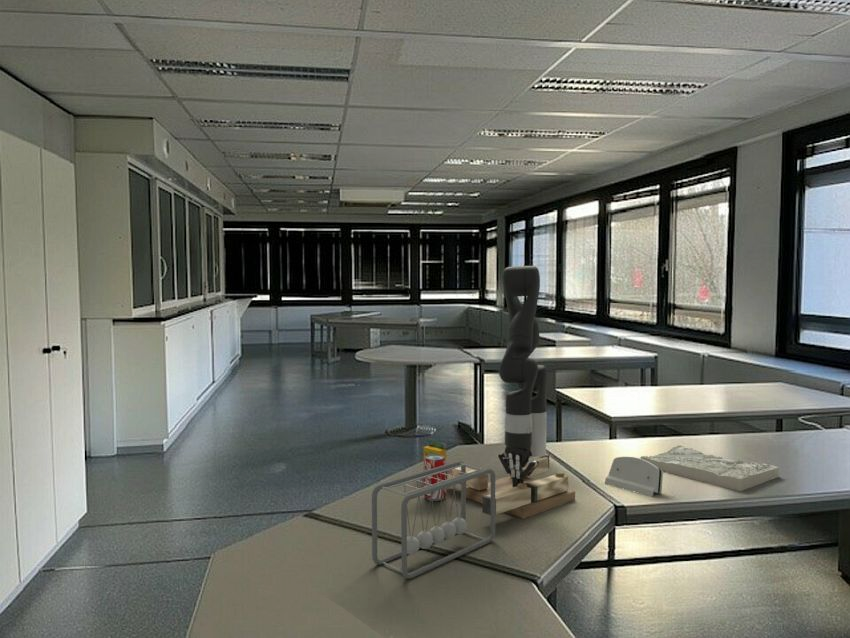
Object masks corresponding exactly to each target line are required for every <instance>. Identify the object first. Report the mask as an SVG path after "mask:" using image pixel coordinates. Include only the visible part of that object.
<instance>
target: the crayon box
mask: <svg viewBox="0 0 850 638" xmlns="http://www.w3.org/2000/svg"><path fill="white" fill-rule="evenodd" d="M428 444H429V445H426V446H423V462H424V461H425V459H426V456H428V455H442V456H444V458H445V461H446V462H447V443H445V442H441V441H438V440H431V439H429V443H428ZM437 444H438V445H437Z"/></svg>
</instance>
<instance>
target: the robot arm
mask: <svg viewBox="0 0 850 638" xmlns="http://www.w3.org/2000/svg"><path fill="white" fill-rule="evenodd" d="M502 286H503V287H502V288H503V292H504V297H505V300H506V306H507V311H508V320H509V321H508V322H509V326H508V331H507V332H508V333H507V345H506V349H505V353H504V355H503V357H502V360H501V362H500V365H499V368H498V374H499V377H500V379H501V380H502V382H504V383H506V384H516V388H517V390H514V391H513V390H512V391H509V392H507V393H506V396H505V418H504V445H505V448H504V452H503V453H500V454H498V459H499V461H500V463H501V464H502V467H503V469H504V470H505V472H506V474H507V475H510V474H511V476H512V482H513V483H512V486H513V487H516V486H518V484H520V483H524V478H525V477H527V476H528V477H531V476H532V475H531V473H532V472H533V471H534V469H535V468H536V467H537V466H538V464H539V462H538V461H537V460H536V461H535V460H534V459H533V457H536V456H545V455H547V394H548V393H547V391H548V376H549V374H548V369H547V366H545V365H544V364H541V365H540V364H538V363H537V361H536V360H535V359H533V358H532V357H530V356H531V355H532V354H533V352H534V351H535V350H536V348H537V347H538V345H539V342H540V338H541V337H540V327H539V322H538V321H537V319H536V313H537V307H538V301H539V295H540V287H541V276H540V270H539V268H538V267H537V266H536V265H518V266H517V265H516V266H515V265H513V266H507V267H505V268H504V269H503V273H502ZM519 297H526V300H525V301H524V303H522V302H521V301H520V299H519ZM533 392H536V395H535V396H534V397H533V396H532V395H533ZM528 461H529V462H528ZM527 463H528V467H527ZM530 475H531V476H530Z"/></svg>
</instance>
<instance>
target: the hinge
mask: <svg viewBox="0 0 850 638" xmlns="http://www.w3.org/2000/svg"><path fill="white" fill-rule="evenodd" d="M663 477H664V471H662V469H661V468H659V467H658V466H656V465H655V464H653V463H651V462H649V461H646V460H643V459H641V457H635V456H619V457H614V458H613V461H612V463H611V465H610V469H609V472H608V474H607V475H606V476H605V480H604V484H605V483H606V484H605V485H608V484H609V486H612V485H613V486H612V487H615V486H616V488H619V487H620V488H619V489H622V488H624V489H623V490H626V489H627V490H626V491H629V490H631V491H630V492H633V491H635V492H634V493H636V492H638V494H640V493H641V494H640V495H643V494H644V496H648V497H650V498H652V497H654V493H656V494H662V489H663Z"/></svg>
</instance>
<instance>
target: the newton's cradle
mask: <svg viewBox="0 0 850 638" xmlns="http://www.w3.org/2000/svg"><path fill="white" fill-rule="evenodd" d="M458 467H461V475H460V476H457V477H454V476H453V475H452V478H451V479H448V480H445V481H443V480H442V479H441V482H439V483H435V484H430V479H429V483H427V484H430V485H429V486H426V487H424V486H423V487H420V488H419V483H418V482H421V483H425V482H424V481H422V479H424V478H426V477H430V476H432V475H435V474H439V473H440V476H441V473H442V472H445V471H448V470H451V472H452V469H455V468H458ZM466 467H467V468H470V469H474V470H476V471H473V472H470V473H466ZM454 471H456V470H454ZM458 472H459V471H458ZM475 472H476V473H475ZM472 473H473V474H472ZM442 474H443V473H442ZM469 474H470V475H469ZM486 474H488V475H490V481H491V515H490V533H489V535H488V537H487V538H486V537H485V538H484V537H482V536H479V535H476V534H473V533H471V532H468V531H467V528H468V523H467V520H466V517H467V515H466V514H467V510H466V509H467V505H466V504H467V503H466V502H467V501H466V500H467V498H466V488H467V486H466V481H468V480H471V479H474V478H477V477H480V476H483V475H486ZM445 475H447V474H445ZM449 476H450V475H449ZM453 477H454V478H453ZM432 478H433V477H432ZM435 479H436V478H435ZM438 480H440V479H438ZM495 480H496V472H495V470H494V469H492V468H486V469H485V468H481V467H477V466H474V465H470V464H466V463H464V462H463V461H461V460H457V461H455V462H450V463H448V464H447V463H446V465H443V466H440V467H436V468H433V469H429V470H426V471H424V470H423V471H420V472H415V473H413V474H410V475H407V476H403V477H399V478H396V479H393V480H390V481H385V482H382V483H380V484H377V485H376V486H375V487H374V489H373V490H372V492H371V493H372V494H371V557H372V561H373V563H374V564H375V565H378V566H381V565H385V566H387V567H389V568H391V569H394V570H396V571H398V572H400V573H401V574H402V576H403V577H404V578H405V579H406V580H407V579H408V580H409V579H413V578H416V577H417V576H420V575H422V574H424V573H427V572H428V571H430V570H432V569H435V568H437V567H440V566H443V565H444V564H445V563H448V562H450V561H453V560H454V559H456V558H459V557H462V556H464V555H466V554H468V553H470V552H472V551H475V550H477V549H479V548H481V547H483V546H486V545H488V544H490V543H491V542H492V541H493V540H494V538H495V536H496V516H495ZM412 482H416V485H417V486H416V487H415V486H414V485H413V486H412V485H409V483H412ZM459 483H461V484H459ZM438 484H439V485H438ZM458 484H459V485H460V489H461V490H460V508H461V509H460V515H459V513H458V510H456V514H457V515H456V516H457V517H455V518H454V519H453V520H452V521H451V515H452V510H453V502H454V499H455V506H456V509H458V504H457V498H456V497H457V496H456V491H455V488H456V485H458ZM402 485H403V487H404V489H406V486H409V487H413V488H415V489H414V490H410V491H406V490H404V492H400V491H398V490H394V489H393V488H396V487H399V486H402ZM435 485H436V486H435ZM452 486H453V493H452V497H454V498H452V499H451V507H450V511H449V512H450V513H449V519H448V517H447V510H446V503H445V501H446V500H443V499H441V500H440V506H439V514H438V520H437V525H436V517H435V511H434V510H435V509H434V508H432V512H433V520H434V526H433V527H431V528H430V529H429V531H427V530H428V529H427V528H428V523H429V522H428V521H429V517H426V518H427V520H426V527H424V520H423V513H422V512H423V511H422V508H421V507H422V506H421V499H420V497H422V496H424V495H426V494H429V493H431V496H430V500H429V506H428V512H427V516H429V515H430V507H431V505H432V507H434V501H431V499H432V492H435V491H438V490H441V489H442V491H443V490H444V488H446V489H447V488H449V487H452ZM429 487H430V488H429ZM383 489H384V490H386V491H390V492H393V493H394V494H395V493H396V494H399V495H401V496H404V498H403V500H402V502H401V508H400V509H401V511H400V512H401V517H400V518H401V521H400V522H401V525H400V526H401V527H400V529H401V531H400V532H401V534H400V535H401V539H400V540H401V550H400V551H397V552H395V553H392V554H389V555H387V556H385V557H382V558H378V493H379V492H380V490H383ZM442 497H443V498H444V499H445V497H444V493H443V492H442ZM416 498H417V503H416V508H415V509H416V510H415V515H414V516H415V517H414V522H413V528H412V534H411V530H410V529H411V527H408V526H410V519H409V510H408V505H409V504H408V503H409V502H410V501H411V500H413V499H416ZM442 502H443V503H444V504H443V503H442ZM442 504H443V505H444V512H445V519H446V522H443V523H442V524H441V526H439V522H440V517H441V511H442V510H441V509H442ZM418 506H419V508H420V516H421V523H422V531H420V532H419V533H418V534H417V536H416V537H415V536H414V531H415V526H416V525H415V524H416V519H417V511H418ZM424 528H425V529H424ZM408 532H409V534H408ZM462 534H466V535H469V536H472V537H475V538H478V539H481V540H480V541H478V542H476V543H474V544H471V545H469V546H466V547H465V548H462V549H459V550H457V551H455V552H453V553H451V554H449V555H447V556H444V557H442V558H440V559H437V560H435V561H433V562H430V563H428V564H426V565H424V566H422V567H420V568H417V569H415V570H413V571H410V572H409V571H408V555H415V554H416V553H418V551H419V549H422V550H424V549H425V550H426V549H429V548H430V547H431V546H433V544H436V545H437V544H441V543H442V542H443V541H444V540H447V539H448V540H449V539H452V538H454V537H455V536H456V535H462ZM400 557H401V569H400V568H398V567H396V566H393V565H391V564H389V562H391V561H394V560H395V559H399V558H400Z"/></svg>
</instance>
